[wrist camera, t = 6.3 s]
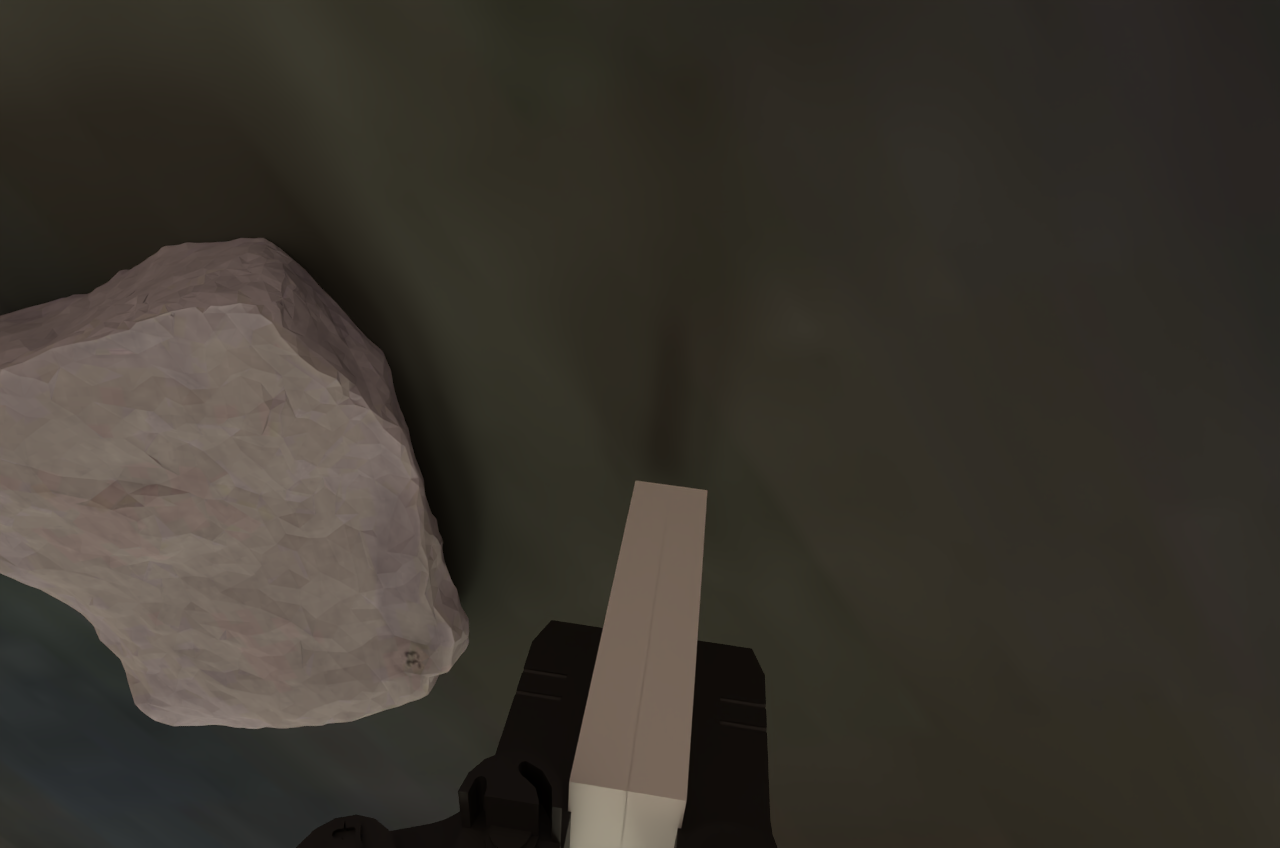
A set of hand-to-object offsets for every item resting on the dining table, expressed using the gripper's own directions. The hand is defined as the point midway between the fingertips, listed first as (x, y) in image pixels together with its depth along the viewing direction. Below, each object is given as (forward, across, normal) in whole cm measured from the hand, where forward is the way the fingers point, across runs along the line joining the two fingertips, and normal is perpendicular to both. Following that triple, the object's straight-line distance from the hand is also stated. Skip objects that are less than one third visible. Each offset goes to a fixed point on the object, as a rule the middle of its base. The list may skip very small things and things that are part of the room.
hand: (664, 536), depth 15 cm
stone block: (+2, +10, +1) cm, 10 cm away
